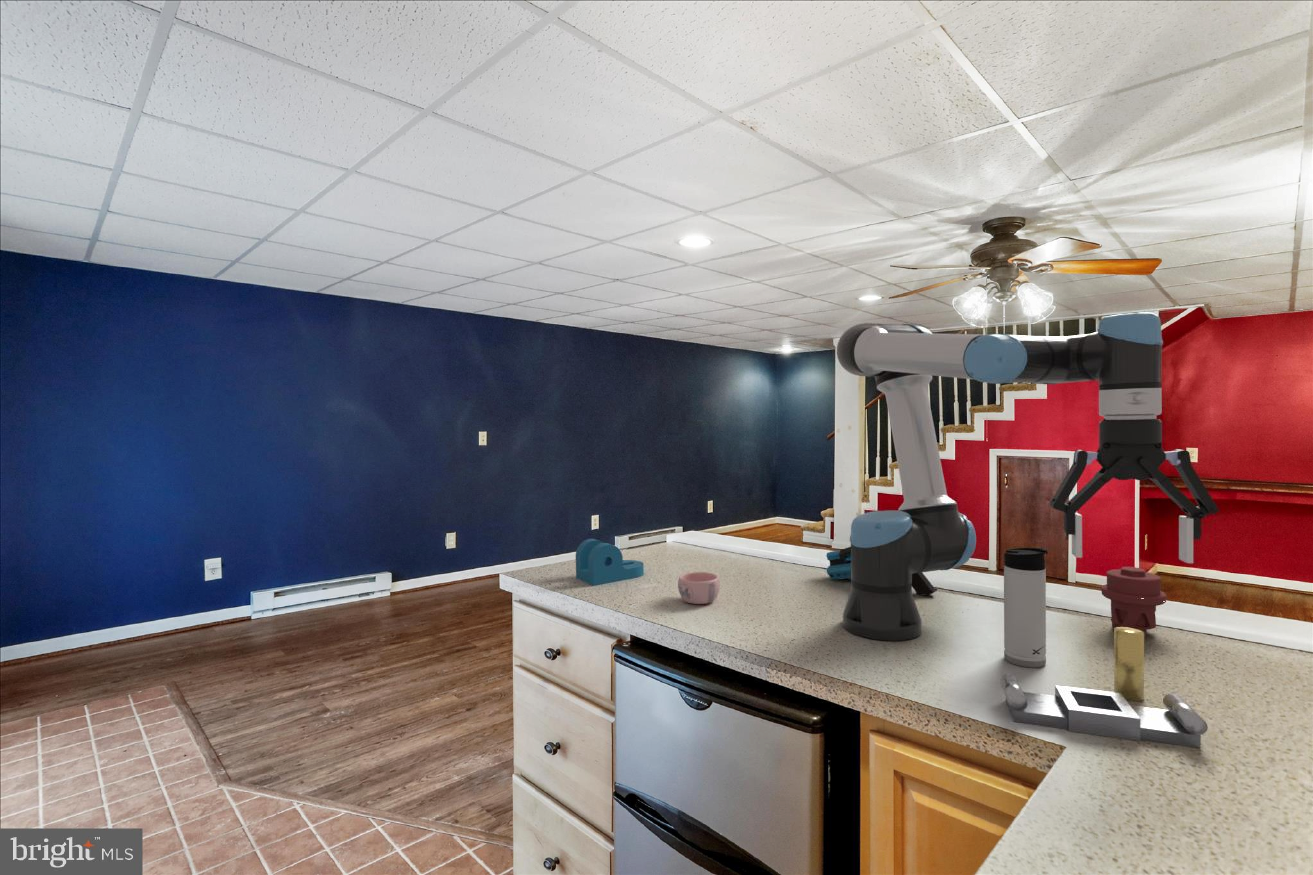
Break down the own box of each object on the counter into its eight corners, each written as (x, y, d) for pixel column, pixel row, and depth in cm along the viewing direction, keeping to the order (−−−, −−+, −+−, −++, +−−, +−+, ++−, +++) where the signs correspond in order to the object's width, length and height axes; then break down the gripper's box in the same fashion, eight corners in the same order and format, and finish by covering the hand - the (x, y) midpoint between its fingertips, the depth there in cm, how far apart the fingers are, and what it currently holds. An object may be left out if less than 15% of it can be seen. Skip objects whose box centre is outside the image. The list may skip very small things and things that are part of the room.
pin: (1118, 699, 93) (1118, 633, 92) (1110, 689, 96) (1111, 625, 96) (1147, 702, 91) (1147, 636, 91) (1139, 692, 95) (1139, 628, 95)
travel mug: (1048, 671, 103) (1048, 553, 102) (1003, 663, 107) (1002, 549, 106) (1048, 658, 108) (1047, 545, 108) (1005, 651, 112) (1004, 542, 111)
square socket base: (1008, 722, 87) (1008, 694, 86) (1000, 697, 94) (999, 672, 94) (1209, 750, 78) (1209, 720, 78) (1182, 721, 86) (1182, 693, 86)
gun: (848, 598, 167) (834, 543, 170) (943, 590, 149) (926, 528, 151) (832, 604, 162) (818, 548, 165) (929, 597, 143) (911, 533, 146)
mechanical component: (1147, 624, 125) (1178, 641, 115) (1091, 621, 127) (1117, 639, 117) (1147, 563, 124) (1178, 576, 114) (1091, 562, 126) (1117, 574, 116)
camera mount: (593, 586, 162) (592, 547, 162) (576, 578, 171) (575, 540, 171) (651, 575, 172) (650, 538, 172) (631, 568, 181) (630, 532, 181)
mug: (728, 601, 146) (728, 576, 146) (698, 610, 140) (698, 584, 140) (693, 591, 156) (693, 568, 155) (664, 599, 149) (663, 575, 149)
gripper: (1038, 420, 94) (1039, 558, 94) (1249, 416, 84) (1249, 569, 85) (1029, 419, 101) (1030, 548, 101) (1222, 415, 91) (1222, 557, 92)
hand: (1130, 558), depth 93 cm, fingers open, 13 cm apart
